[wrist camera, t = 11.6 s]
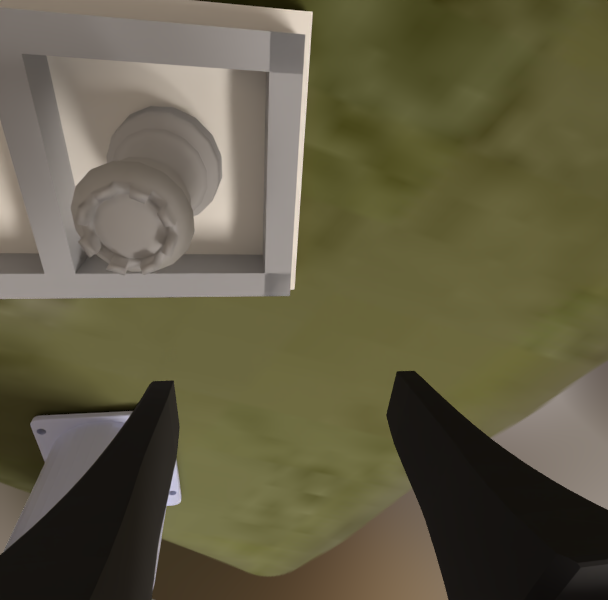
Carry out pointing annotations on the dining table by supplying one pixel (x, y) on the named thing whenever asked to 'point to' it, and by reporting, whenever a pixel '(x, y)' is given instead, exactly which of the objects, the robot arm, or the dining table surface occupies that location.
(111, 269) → the rook chess piece
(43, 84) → the pocket tray
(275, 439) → the dining table surface
